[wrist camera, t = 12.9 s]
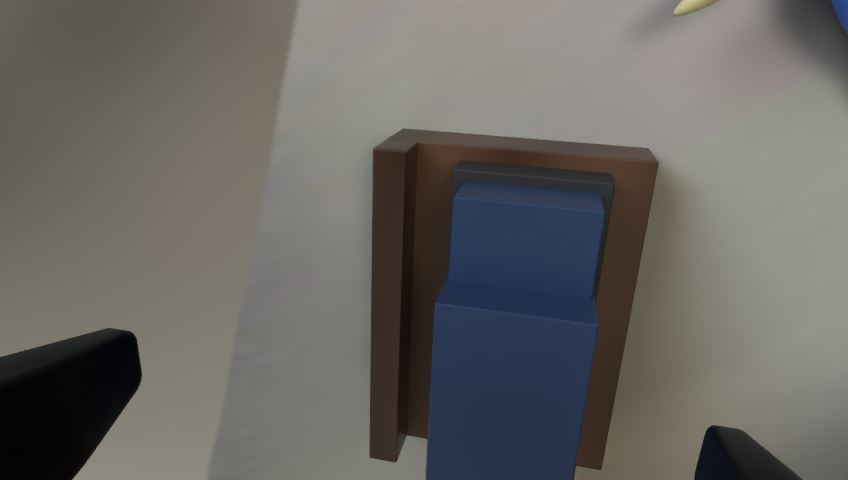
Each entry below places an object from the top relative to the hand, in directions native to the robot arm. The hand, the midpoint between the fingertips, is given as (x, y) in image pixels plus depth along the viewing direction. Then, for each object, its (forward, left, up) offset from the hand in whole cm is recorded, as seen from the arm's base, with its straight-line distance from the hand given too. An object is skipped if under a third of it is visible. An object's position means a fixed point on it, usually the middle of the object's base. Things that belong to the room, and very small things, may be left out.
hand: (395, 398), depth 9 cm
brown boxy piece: (-1, +4, -12) cm, 13 cm away
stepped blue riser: (-2, +3, -10) cm, 11 cm away
